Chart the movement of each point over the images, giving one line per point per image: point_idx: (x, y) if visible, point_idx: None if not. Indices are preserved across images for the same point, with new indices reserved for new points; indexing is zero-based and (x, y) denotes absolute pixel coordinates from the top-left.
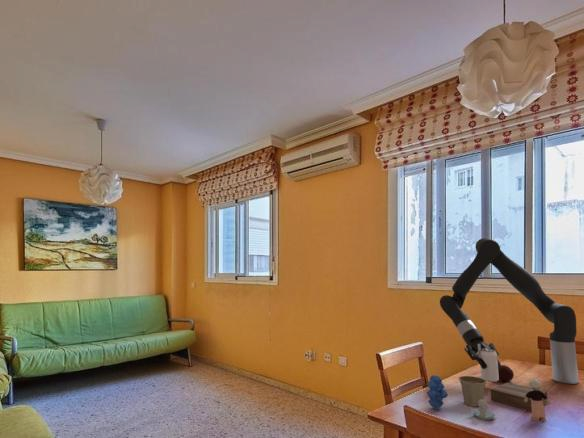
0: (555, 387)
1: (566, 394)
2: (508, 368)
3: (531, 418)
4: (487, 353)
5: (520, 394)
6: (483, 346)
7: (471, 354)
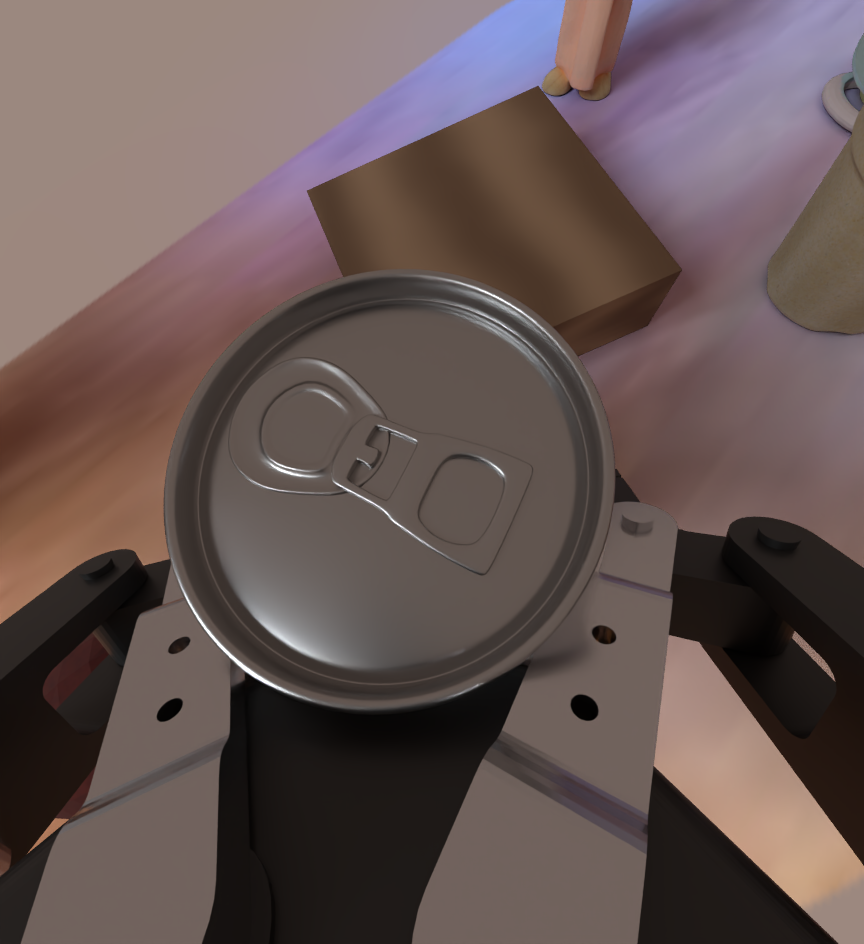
0: (21, 460)
1: (103, 343)
2: (84, 650)
3: (608, 93)
4: (531, 348)
5: (531, 157)
6: (239, 838)
7: (800, 738)
